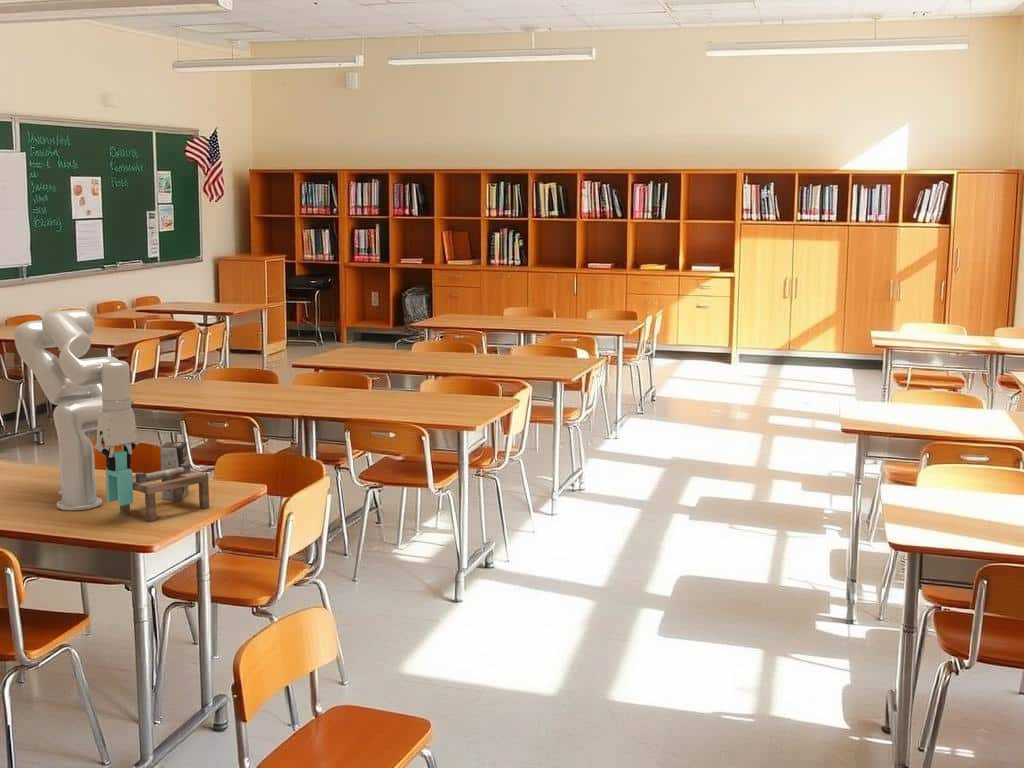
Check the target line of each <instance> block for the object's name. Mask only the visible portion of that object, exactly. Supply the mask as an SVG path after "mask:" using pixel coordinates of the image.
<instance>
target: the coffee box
mask: <svg viewBox="0 0 1024 768" xmlns="http://www.w3.org/2000/svg"><path fill="white" fill-rule="evenodd" d="M187 445H188V442H187V441H174V442H173V441H172V442H167V441H166V442H165V443H164V444H163V445H162V446H161V447H160V449H159V450H160V471H162V470H167V469H171V468H176V467H179V468H180V465H181V464H188V446H187ZM169 480H172V479H168V478H166V479H161V482H165V481H169ZM182 490H183V499H184V498H185V496H187V494H188V493H189V490H190V489H189V486H184V487H182ZM161 495H162V496H161V499H162V500H173V489H171V490H166V491H162V492H161Z"/></svg>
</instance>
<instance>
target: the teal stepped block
mask: <svg viewBox="0 0 1024 768" xmlns="http://www.w3.org/2000/svg"><path fill="white" fill-rule="evenodd" d="M113 457H115V466H116V470H115V471H110V470H108V469H107V467H105V481H106V482H105V484H106V485H105V486H106V487H105V488H106V501H107V502H109V503H111V502H116V501H117V505H118V506H119V507H120V506H122V505H126V504H130V505H131V504H134V494H133V493H134V492H133V491H134V490H133V482H132V476H133V469H131V468H127V451H124V450H123V449H120V450H114V453H113Z"/></svg>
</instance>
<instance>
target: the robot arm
mask: <svg viewBox="0 0 1024 768" xmlns="http://www.w3.org/2000/svg"><path fill="white" fill-rule="evenodd" d="M95 326H96V325H95V320H94V317H93V316H92V315H91V313H89V312H88V311H87V310H85V309H80V308H79V309H65V310H56V311H55V310H54V311H51V312H49V313H47V314H46V315H44V317H43V318H42V319H41V320H40V319H38V320H30V321H26V322H24V323H21V324H19V325H18V326H17V327H16V328H15V330H14V344H15V348H16V351H17V353H18V355H19V357H20V358H21V359H22V361H23V362H24V364H25V365H26V366H27V367H28V368H29V369H30V370H31V372H32V373H33V374H34V376H35V378H36V380H37V382H38V384H39V385H40V388H41V390H42V391H43V393H44V395H45V396H46V399H47V400H48V401H49V402H50V403H51V404H53V405H55V406H56V407H54V410H53V415H52V416H53V421H54V422H53V423H54V426H55V430H56V433H57V439H58V440H57V441H58V453H59V468H60V485H61V486H60V487H61V488H60V489H61V490H59V491H58V495H59V496H61V500H59V501H57V502H56V508H57V509H59V510H62V511H83V510H89V509H95V508H97V507H100V506H101V505H102V504H103V499H102V498H100V497H97V487H96V486H97V485H96V483H97V481H96V466H95V465H96V464H95V452H94V451H95V450H97V451H98V452H100V453H101V454H102V455H103V456H104V457H105V462H106V465H105V466H106V468H107V469H108V470H110V471H115V470H116V466H115V457H113V453H114V451H115V447H118V446H121V447H122V450H124V451H127V468H128V469H131V464H132V461H131V460H132V459H131V456H132V454H133V451H134V450H135V448H136V446H138V444H140V443H141V437H139V435H138V433H137V431H138V430H137V424H136V416H135V412H134V409H133V408H132V404H134V403H135V399H134V398H131V375H130V365H129V363H128V362H127V361H125V360H119V359H118V358H116V357H114V356H100V357H89V358H81V357H83V356H84V355H85V354H87V352H88V351H89V350H90V348H91V344H92V341H91V340H92V339H91V336H92V335H93V334H94V331H95ZM47 348H50V349H51V348H58V349H59V350H60V352H59V356H57V355H55V354H54V353H52V352H51V351H49V350H46V349H47ZM94 430H96V443H95V444H93V442H92V441H91V439H90V438H89V437H88V436H87V435H86V432H89V431H94ZM103 446H104V447H103Z"/></svg>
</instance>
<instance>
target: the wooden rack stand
mask: <svg viewBox="0 0 1024 768" xmlns="http://www.w3.org/2000/svg"><path fill="white" fill-rule="evenodd" d="M166 478H168V479H172V480H169V481H165V482H162V479H166ZM160 480H161V481H160ZM132 482H133V491H135V492H139V493H142V494H144V502H145V505H144V507H145V520H146V521H147V522H150V523H151V522H155V521H157V504H156V502H157V500H156V493H162V491H166V490H171V489H173V499H172V500H174V501H173V502H176V501H179V502H182V500H183V501H184V498H183V490H182V487H184V486H188V487H189V486H193V485H198V499H199V500H198V502H199V505H198V506H199V509H203V510H205V509H210V493H209V492H210V487H209V474H207V473H203V472H199V471H195V470H191V464H189V463H187V464H181V465H180V468H179V467H176V468H171V469H167V470H162V471H161V470H158V471H157V470H156V471H153V472H143V471H142V472H137V473H135V475H132ZM119 513H120V514H122V515H127V514H131V504H126V505H122V506H120V505H119Z"/></svg>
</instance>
